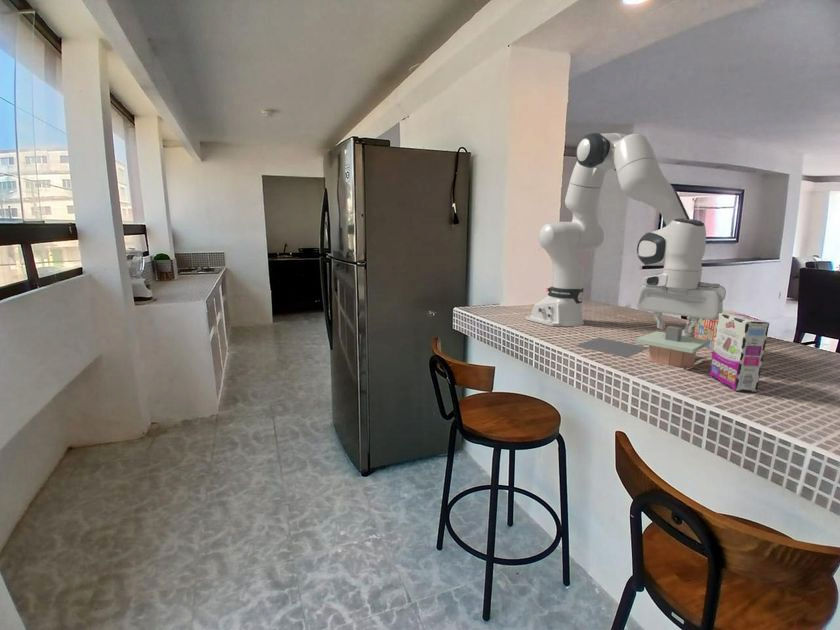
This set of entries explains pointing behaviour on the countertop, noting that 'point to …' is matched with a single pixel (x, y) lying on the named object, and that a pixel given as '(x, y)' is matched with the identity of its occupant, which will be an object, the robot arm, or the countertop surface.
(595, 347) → the mat
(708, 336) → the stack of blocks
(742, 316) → the candy bar box
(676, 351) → the bowl
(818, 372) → the countertop surface
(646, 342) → the lid
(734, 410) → the countertop surface
